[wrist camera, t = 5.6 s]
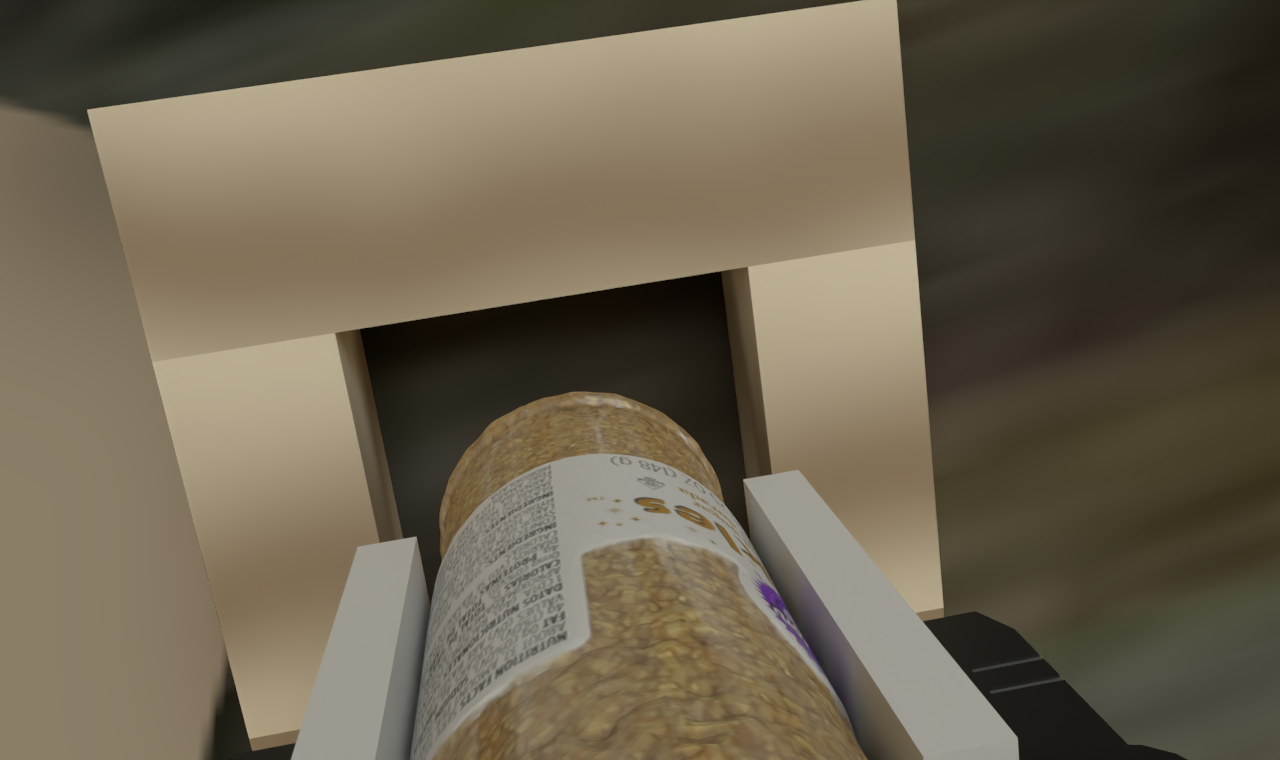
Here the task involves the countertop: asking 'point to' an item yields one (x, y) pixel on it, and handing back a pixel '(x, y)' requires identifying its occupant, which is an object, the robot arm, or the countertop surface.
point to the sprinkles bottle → (609, 605)
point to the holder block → (519, 278)
